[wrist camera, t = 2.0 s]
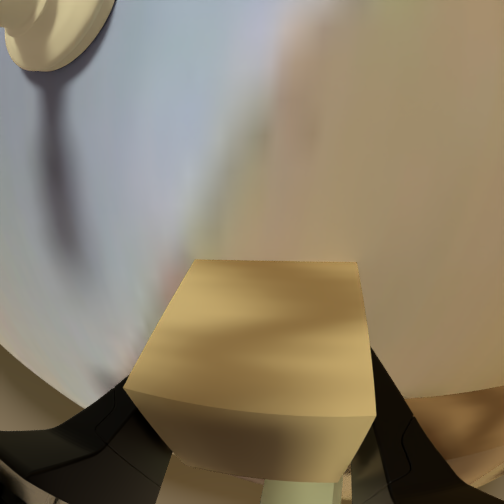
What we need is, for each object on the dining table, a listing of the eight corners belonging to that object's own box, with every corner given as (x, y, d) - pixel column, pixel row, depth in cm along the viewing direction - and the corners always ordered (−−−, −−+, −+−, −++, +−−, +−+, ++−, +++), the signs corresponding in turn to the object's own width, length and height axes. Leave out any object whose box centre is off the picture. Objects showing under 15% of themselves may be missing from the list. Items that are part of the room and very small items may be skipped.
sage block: (335, 457, 17) (330, 519, 13) (343, 474, 19) (338, 525, 15) (268, 459, 18) (257, 516, 14) (286, 476, 21) (277, 524, 17)
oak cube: (356, 262, 9) (376, 415, 4) (340, 365, 11) (337, 482, 7) (195, 259, 10) (122, 387, 5) (219, 358, 12) (185, 465, 8)
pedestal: (523, 376, 11) (541, 431, 7) (461, 443, 15) (467, 485, 12) (395, 394, 12) (401, 467, 9) (356, 455, 17) (355, 503, 14)
